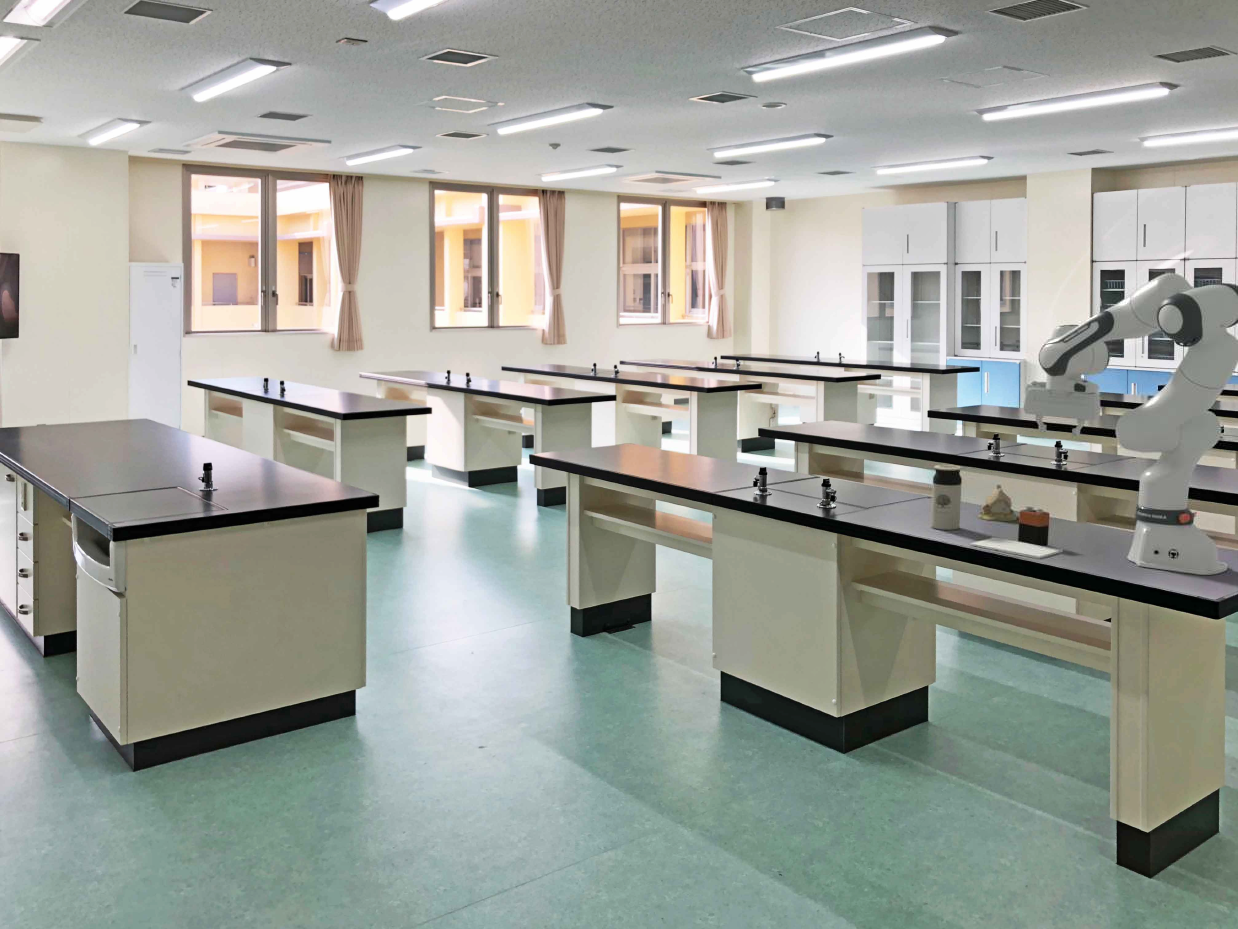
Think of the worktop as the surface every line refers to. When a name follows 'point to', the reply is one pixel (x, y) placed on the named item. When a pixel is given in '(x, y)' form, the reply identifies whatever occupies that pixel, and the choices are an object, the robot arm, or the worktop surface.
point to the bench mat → (1017, 547)
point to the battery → (1033, 526)
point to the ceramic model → (997, 507)
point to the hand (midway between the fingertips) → (1058, 433)
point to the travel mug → (946, 497)
